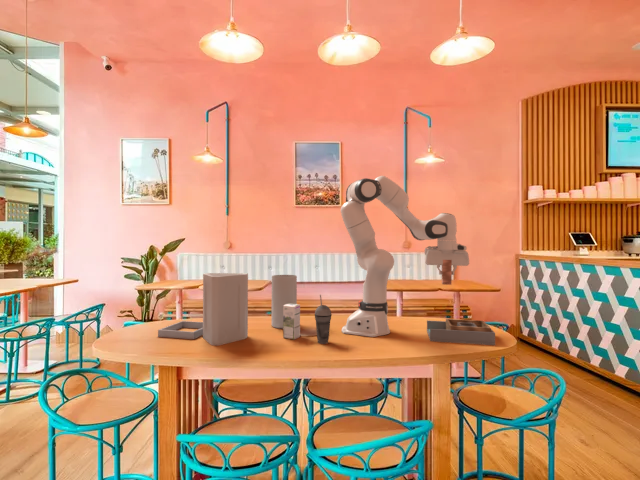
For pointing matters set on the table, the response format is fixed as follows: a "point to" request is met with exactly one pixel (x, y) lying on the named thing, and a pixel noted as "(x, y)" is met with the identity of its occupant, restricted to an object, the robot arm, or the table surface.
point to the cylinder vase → (282, 296)
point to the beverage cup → (323, 323)
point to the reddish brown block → (447, 272)
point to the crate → (467, 325)
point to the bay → (458, 334)
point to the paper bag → (225, 307)
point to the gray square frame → (171, 332)
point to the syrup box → (291, 321)
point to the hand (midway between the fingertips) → (446, 274)
